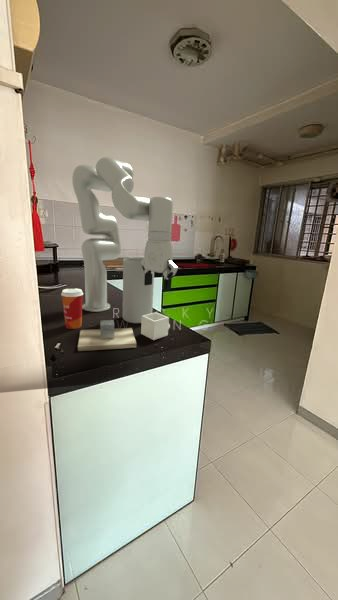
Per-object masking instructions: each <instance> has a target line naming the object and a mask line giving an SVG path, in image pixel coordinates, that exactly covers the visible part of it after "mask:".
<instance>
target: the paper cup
mask: <svg viewBox="0 0 338 600" xmlns="http://www.w3.org/2000/svg"><path fill="white" fill-rule="evenodd" d="M60 295H61V299H62V306H63V315H64V323H65V327H66V328H67V329H69V330H76V329H79V328H82V326H83V325H82V323H83V321H82V320H83V308H82V305H83V297H84V296H83V295H84V292H83V290H82V289H81V288H76V287H75V288H64V289H62V292H61V293H60Z"/></svg>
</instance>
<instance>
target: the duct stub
mask: <svg viewBox="0 0 338 600" xmlns="http://www.w3.org/2000/svg"><path fill="white" fill-rule="evenodd" d="M99 329H101V339H114V329H115V321H114V319H109V320H107V319H106V320H103V319H102V320H100V328H99Z"/></svg>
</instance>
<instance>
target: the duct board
mask: <svg viewBox="0 0 338 600" xmlns="http://www.w3.org/2000/svg"><path fill="white" fill-rule="evenodd" d="M132 348H133V349H134V348H135V349H136V348H137V340H136V338H135V334H134V331H133V327H124V328H114V339H101V328H98V329H96V328H95V329H80V331H79V337H78V343H77V352H84V351H85V352H86V351H100V350H101V351H103V350H117V349H118V350H119V349H132Z"/></svg>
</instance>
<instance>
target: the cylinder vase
mask: <svg viewBox="0 0 338 600" xmlns="http://www.w3.org/2000/svg"><path fill="white" fill-rule="evenodd" d="M143 259H144V257H143V258H142V257H128V258H127V257H126V258H123V260H122V319H123V320H124V321H125V322H127V323H129V324H130V323H131V324H141V323H142V316H143V315H147V314H151V313H153V306H154V305H153V304H154V285H155V283H154V282H155V272H153V271H152V273H151V274H152V285H144V281H145V274H144V270H143V269H142V263H141V260H143Z"/></svg>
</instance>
